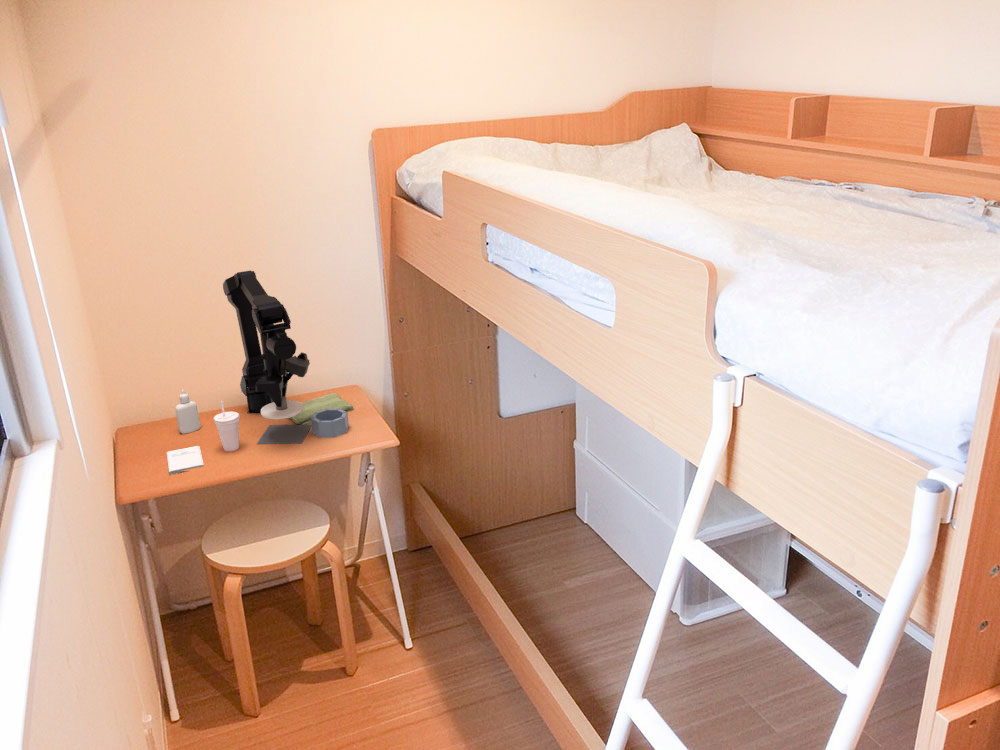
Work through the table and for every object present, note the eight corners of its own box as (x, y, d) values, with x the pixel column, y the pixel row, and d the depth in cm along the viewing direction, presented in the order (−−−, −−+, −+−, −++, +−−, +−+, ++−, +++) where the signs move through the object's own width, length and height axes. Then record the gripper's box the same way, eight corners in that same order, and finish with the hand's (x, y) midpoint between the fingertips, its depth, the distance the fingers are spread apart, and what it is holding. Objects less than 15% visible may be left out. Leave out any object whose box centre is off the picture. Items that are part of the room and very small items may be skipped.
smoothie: (215, 449, 210) (206, 400, 205) (238, 442, 214) (230, 394, 209) (224, 457, 205) (216, 407, 200) (248, 450, 209) (240, 400, 204)
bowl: (310, 439, 214) (308, 422, 212) (318, 425, 223) (316, 408, 221) (344, 438, 214) (342, 421, 212) (350, 424, 222) (349, 408, 221)
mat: (256, 446, 211) (256, 444, 211) (269, 427, 222) (269, 425, 222) (301, 445, 211) (301, 443, 211) (312, 426, 222) (312, 424, 222)
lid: (255, 419, 209) (253, 406, 207) (267, 403, 219) (265, 390, 218) (297, 418, 209) (295, 405, 207) (307, 402, 219) (305, 389, 218)
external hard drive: (170, 477, 197) (167, 456, 208) (204, 470, 200) (200, 450, 211) (168, 471, 197) (166, 451, 207) (203, 464, 200) (199, 444, 210)
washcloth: (280, 415, 231) (279, 405, 230) (337, 400, 241) (336, 390, 239) (298, 430, 221) (297, 419, 220) (356, 413, 231) (355, 403, 229)
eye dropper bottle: (179, 428, 223) (172, 388, 219) (201, 425, 225) (194, 386, 220) (179, 434, 219) (171, 394, 215) (200, 431, 221) (193, 391, 216)
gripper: (295, 360, 199) (302, 417, 204) (312, 337, 216) (319, 390, 222) (250, 361, 199) (259, 418, 205) (272, 338, 216) (279, 391, 222)
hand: (281, 404), depth 213 cm, fingers closed on lid, 3 cm apart
